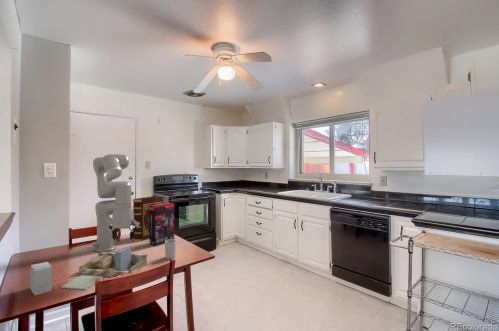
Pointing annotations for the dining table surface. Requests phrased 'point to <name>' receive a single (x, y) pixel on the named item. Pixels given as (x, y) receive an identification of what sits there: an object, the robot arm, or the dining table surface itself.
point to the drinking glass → (170, 248)
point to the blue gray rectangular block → (123, 259)
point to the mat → (81, 282)
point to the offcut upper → (101, 261)
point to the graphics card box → (161, 223)
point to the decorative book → (143, 215)
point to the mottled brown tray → (136, 261)
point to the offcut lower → (103, 267)
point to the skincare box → (41, 278)
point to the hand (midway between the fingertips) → (123, 238)
